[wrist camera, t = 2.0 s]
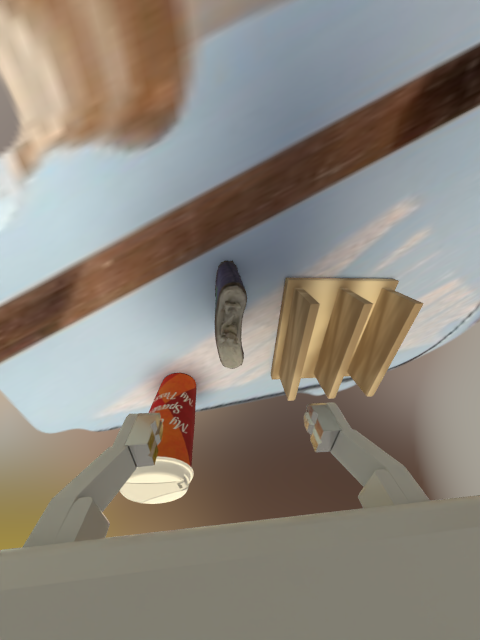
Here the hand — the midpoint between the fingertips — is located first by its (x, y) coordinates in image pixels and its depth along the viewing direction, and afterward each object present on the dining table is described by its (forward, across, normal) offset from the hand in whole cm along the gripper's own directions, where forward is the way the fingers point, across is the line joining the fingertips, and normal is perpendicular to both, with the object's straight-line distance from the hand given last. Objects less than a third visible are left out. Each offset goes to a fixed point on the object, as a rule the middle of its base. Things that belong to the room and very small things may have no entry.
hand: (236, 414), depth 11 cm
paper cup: (+17, +8, +15) cm, 24 cm away
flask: (+17, 0, -1) cm, 17 cm away
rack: (+17, -15, +5) cm, 23 cm away
